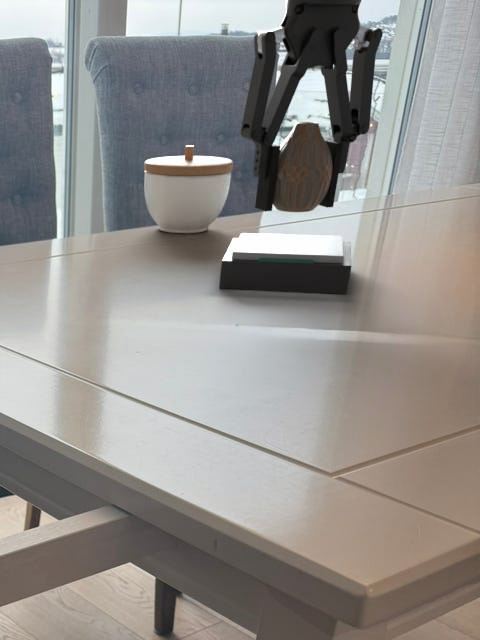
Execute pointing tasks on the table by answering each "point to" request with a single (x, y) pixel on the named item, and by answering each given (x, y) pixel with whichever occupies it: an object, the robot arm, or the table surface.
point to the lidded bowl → (186, 190)
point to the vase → (302, 169)
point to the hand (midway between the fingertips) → (294, 207)
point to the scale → (287, 263)
